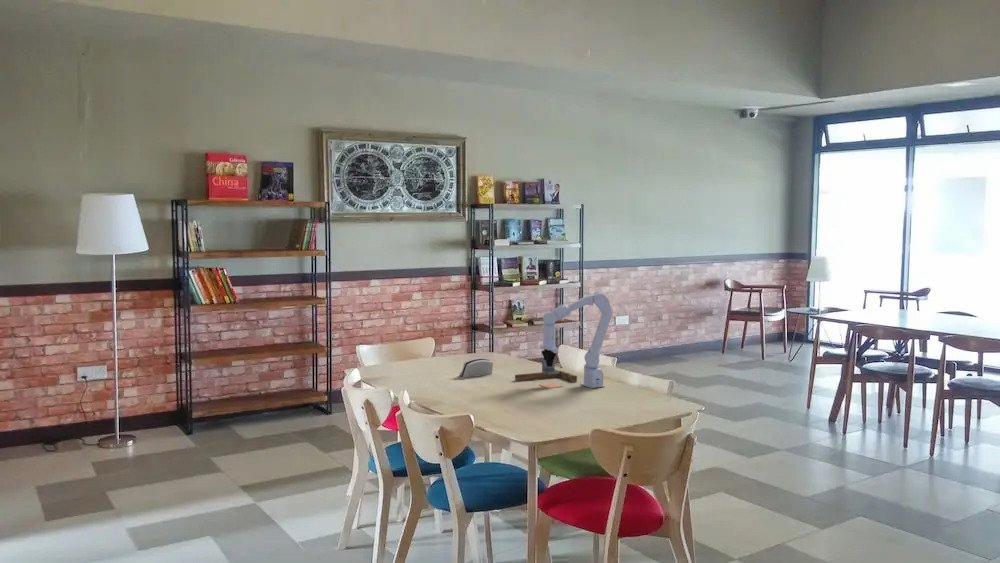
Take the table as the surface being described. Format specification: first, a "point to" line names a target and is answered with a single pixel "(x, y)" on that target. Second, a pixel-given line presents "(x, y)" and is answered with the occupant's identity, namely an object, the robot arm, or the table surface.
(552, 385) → the pad
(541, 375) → the brown wooden l-shape
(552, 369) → the bracket
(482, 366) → the grey curved-top block
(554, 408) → the table surface
